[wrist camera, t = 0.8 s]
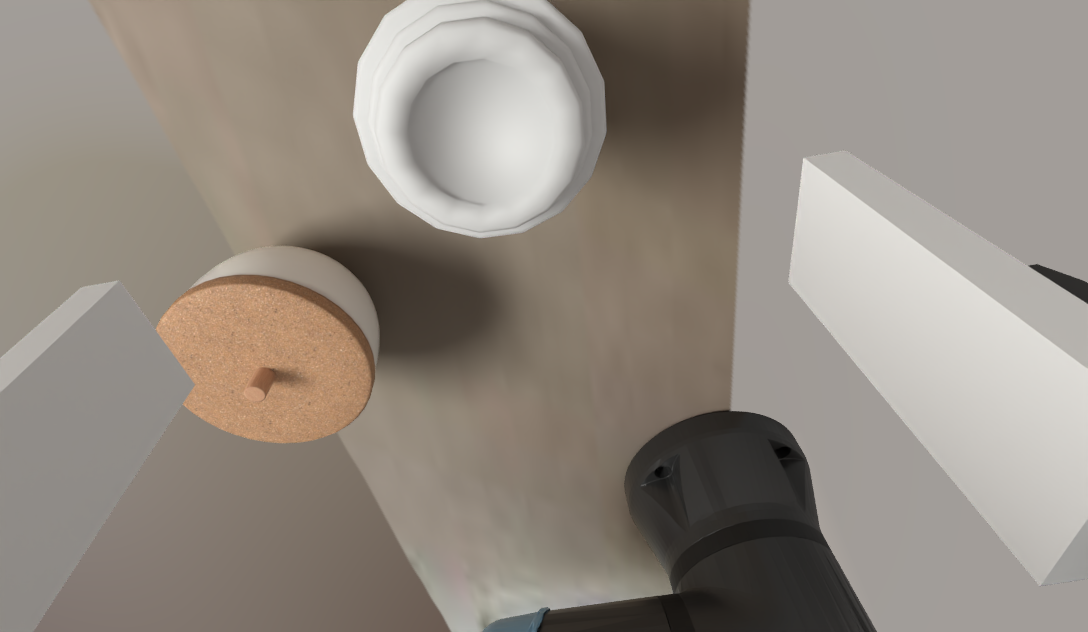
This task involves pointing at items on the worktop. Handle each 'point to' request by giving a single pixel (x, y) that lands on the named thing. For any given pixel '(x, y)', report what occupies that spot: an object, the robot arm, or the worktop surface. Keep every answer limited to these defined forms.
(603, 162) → the worktop surface
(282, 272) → the lidded jar
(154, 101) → the worktop surface
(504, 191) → the coffee cup
